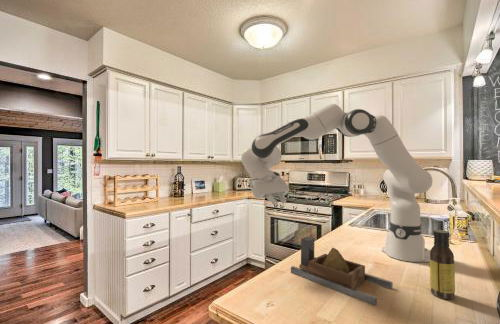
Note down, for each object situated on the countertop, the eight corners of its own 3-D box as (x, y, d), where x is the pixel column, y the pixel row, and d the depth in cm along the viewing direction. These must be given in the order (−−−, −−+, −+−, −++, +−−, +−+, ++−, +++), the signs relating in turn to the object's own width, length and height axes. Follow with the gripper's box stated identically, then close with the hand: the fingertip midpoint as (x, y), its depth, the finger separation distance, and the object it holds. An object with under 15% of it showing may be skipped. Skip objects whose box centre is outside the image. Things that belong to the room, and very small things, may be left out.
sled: (311, 262, 105) (311, 234, 105) (364, 280, 90) (365, 247, 89) (294, 270, 97) (294, 240, 97) (349, 291, 82) (350, 256, 81)
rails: (312, 261, 106) (313, 256, 106) (392, 288, 85) (392, 282, 85) (290, 272, 96) (290, 266, 96) (375, 305, 74) (375, 298, 74)
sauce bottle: (457, 296, 80) (459, 232, 80) (450, 302, 76) (451, 235, 76) (433, 287, 85) (434, 227, 85) (425, 293, 81) (426, 230, 81)
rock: (362, 276, 88) (344, 261, 97) (350, 259, 85) (334, 245, 95) (337, 297, 87) (322, 280, 96) (325, 280, 84) (311, 264, 94)
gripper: (250, 174, 107) (267, 201, 100) (281, 173, 121) (298, 196, 114) (242, 184, 110) (259, 211, 104) (274, 181, 125) (290, 204, 118)
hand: (280, 203), depth 109 cm, fingers open, 4 cm apart
